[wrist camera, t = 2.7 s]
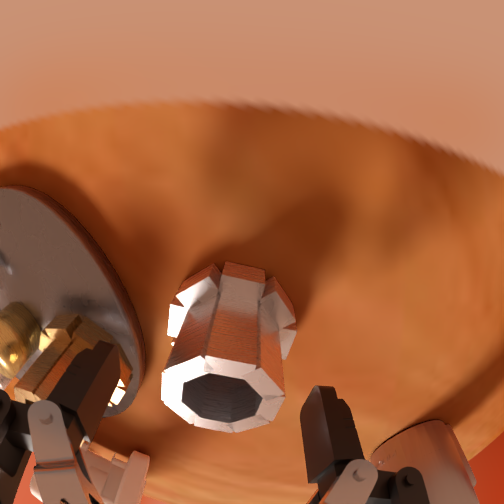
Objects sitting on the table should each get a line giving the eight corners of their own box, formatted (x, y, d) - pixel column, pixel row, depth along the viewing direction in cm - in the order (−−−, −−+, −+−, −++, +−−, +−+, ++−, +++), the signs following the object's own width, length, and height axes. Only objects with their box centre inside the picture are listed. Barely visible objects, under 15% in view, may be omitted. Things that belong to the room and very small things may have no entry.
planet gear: (306, 278, 14) (331, 355, 9) (273, 367, 16) (277, 447, 11) (183, 251, 14) (138, 316, 8) (172, 346, 16) (143, 421, 10)
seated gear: (105, 312, 14) (50, 385, 8) (146, 392, 16) (118, 463, 10) (38, 315, 14) (-13, 367, 8) (78, 385, 16) (45, 440, 11)
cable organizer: (66, 404, 20) (22, 485, 9) (158, 448, 21) (134, 541, 10) (74, 450, 25) (48, 507, 14) (140, 481, 26) (124, 542, 15)
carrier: (154, 210, 13) (97, 247, 8) (149, 430, 20) (134, 478, 15) (-37, 175, 12) (-82, 190, 7) (-3, 356, 19) (-27, 384, 14)
